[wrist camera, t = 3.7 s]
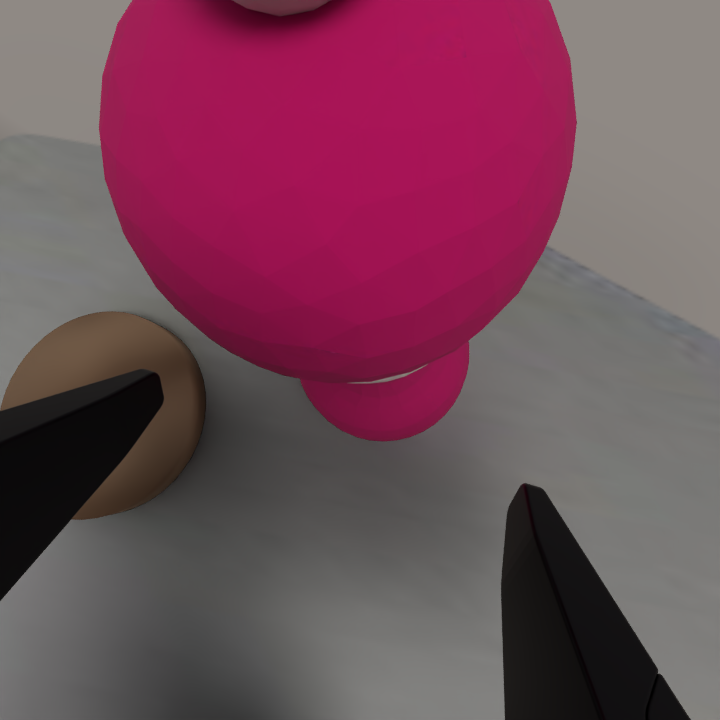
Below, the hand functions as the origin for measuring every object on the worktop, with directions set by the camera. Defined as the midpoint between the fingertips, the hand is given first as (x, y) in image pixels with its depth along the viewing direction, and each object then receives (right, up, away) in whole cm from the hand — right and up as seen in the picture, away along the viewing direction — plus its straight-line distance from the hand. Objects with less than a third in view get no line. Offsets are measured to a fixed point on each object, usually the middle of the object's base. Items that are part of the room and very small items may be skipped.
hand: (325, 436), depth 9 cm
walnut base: (-13, -1, +13) cm, 19 cm away
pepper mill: (+2, +1, +12) cm, 12 cm away
